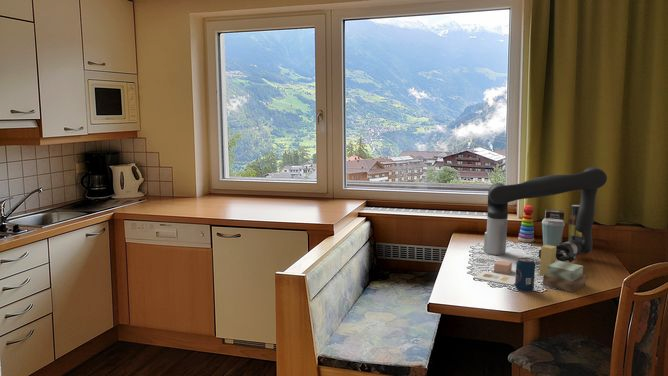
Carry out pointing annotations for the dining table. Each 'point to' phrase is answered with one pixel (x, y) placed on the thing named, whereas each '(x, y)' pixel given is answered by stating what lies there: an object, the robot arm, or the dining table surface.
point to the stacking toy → (527, 225)
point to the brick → (503, 267)
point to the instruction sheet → (496, 277)
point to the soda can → (525, 274)
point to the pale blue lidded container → (555, 216)
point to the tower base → (564, 283)
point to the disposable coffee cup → (552, 231)
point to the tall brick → (547, 258)
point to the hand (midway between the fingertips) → (550, 258)
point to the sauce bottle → (573, 222)
